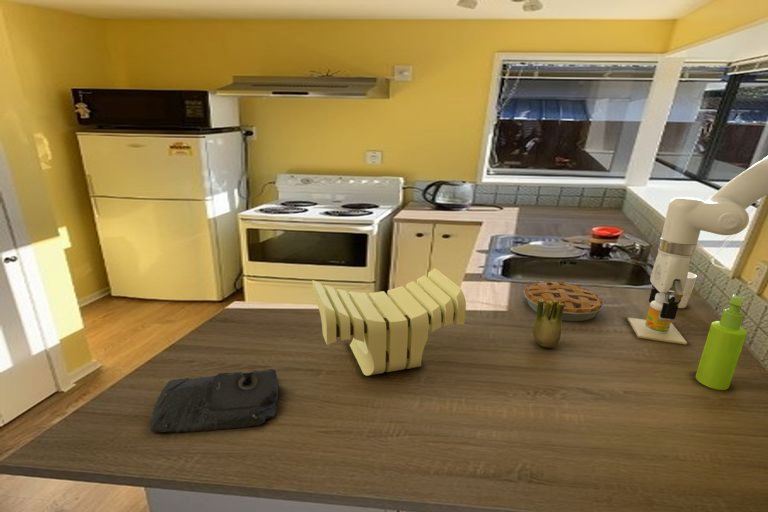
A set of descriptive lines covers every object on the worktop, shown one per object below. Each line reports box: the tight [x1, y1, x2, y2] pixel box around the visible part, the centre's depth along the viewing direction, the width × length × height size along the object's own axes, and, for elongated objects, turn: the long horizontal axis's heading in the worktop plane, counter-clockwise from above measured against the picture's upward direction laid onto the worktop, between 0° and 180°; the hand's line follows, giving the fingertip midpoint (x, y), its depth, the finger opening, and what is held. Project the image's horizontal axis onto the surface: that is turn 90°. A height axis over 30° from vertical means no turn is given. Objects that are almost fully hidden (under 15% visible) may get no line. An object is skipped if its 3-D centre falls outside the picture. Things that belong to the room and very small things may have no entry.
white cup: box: [669, 271, 698, 309], centre depth 129 cm, size 8×8×10 cm
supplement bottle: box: [645, 293, 673, 334], centre depth 111 cm, size 5×5×10 cm
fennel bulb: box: [533, 300, 565, 349], centre depth 103 cm, size 6×5×12 cm
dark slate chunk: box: [149, 368, 279, 434], centre depth 80 cm, size 15×22×5 cm
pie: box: [523, 280, 604, 322], centre depth 125 cm, size 22×22×5 cm
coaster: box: [627, 317, 688, 345], centre depth 113 cm, size 11×11×1 cm
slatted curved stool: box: [311, 267, 467, 377], centre depth 94 cm, size 30×16×18 cm, turn 108°
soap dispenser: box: [695, 294, 748, 391], centre depth 88 cm, size 6×7×20 cm
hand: (661, 310), depth 111 cm, fingers open, 9 cm apart
